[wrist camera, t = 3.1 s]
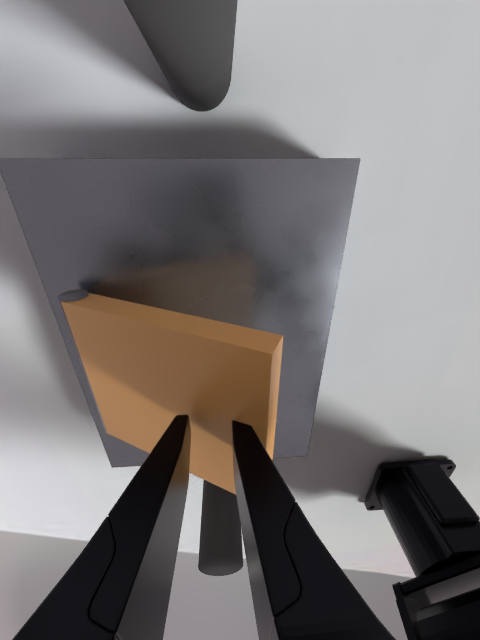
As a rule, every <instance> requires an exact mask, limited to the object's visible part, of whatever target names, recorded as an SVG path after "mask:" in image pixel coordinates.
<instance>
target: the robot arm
mask: <svg viewBox="0 0 480 640" xmlns="http://www.w3.org/2000/svg"><path fill="white" fill-rule="evenodd" d="M190 447H191V428H190V420H189V416H188V415H187V414H182V415H176V416H175V418H174V419H173V420H172V422H171V423H170V425H169V426H168V428H167V429H166V431H165V432H164V434H163V435H162V437H161V438H160V439H159V441H158V442H157V444H156V445H155V447H154V448H153V450H152V451H151V453H150V454H149V456H148V457H147V458H146V460H145V461H144V463H143V464H142V466H141V467H140V469H139V470H138V472H137V473H136V475H135V476H134V477H133V479H132V480H131V482H130V483H129V485H128V486H127V488H126V489H125V491H124V492H123V494H122V495H121V496H120V498H119V499H118V501H117V502H116V504H115V505H114V507H113V508H112V510H111V511H110V513H109V514H108V516H109V517H106V518H105V520H104V521H103V523H102V524H101V526H100V527H99V529H98V530H97V531H96V533H95V534H94V536H93V537H92V538H91V540H90V541H89V543H88V544H87V545H86V547H85V548H84V550H83V551H82V553H81V554H80V555H79V556H78V558H77V559H76V560H75V562H74V563H73V564H72V565H71V567H70V568H69V569H68V571H67V572H66V573H65V574H64V576H63V577H62V578H61V580H60V581H59V582H58V583H57V585H56V586H55V587H54V588H53V589H52V591H51V592H50V593H49V594H48V596H47V597H46V598H45V599H44V601H43V602H42V603H41V604H40V606H39V607H38V608H37V610H36V611H35V612H34V613H33V614H32V616H31V617H30V618H29V619H28V621H27V622H26V623H25V624H24V626H23V627H22V628H21V629H20V631H19V632H18V633H17V634H16V636H15V637H14V638H13V639H12V640H163V634H164V629H165V622H166V617H167V611H168V604H169V598H170V592H171V586H172V579H173V574H174V568H175V562H176V555H177V550H178V544H179V538H180V532H181V526H182V520H183V514H184V508H185V502H186V495H187V489H188V481H189V465H190ZM232 448H233V471H234V483H235V490H236V496H237V503H238V509H239V516H240V522H241V528H242V535H243V541H244V547H245V554H246V560H247V566H248V573H249V579H250V586H251V592H252V598H253V604H254V611H255V617H256V624H257V630H258V636H259V640H396V639H395V638H394V637H393V636H392V635H391V634H390V632H389V631H388V630H387V629H386V628H385V627H384V625H383V624H382V623H381V622H380V621H379V619H378V618H377V617H376V615H375V614H374V613H373V612H372V610H371V609H370V608H369V606H368V605H367V604H366V602H365V601H364V600H363V598H362V597H361V595H360V594H359V593H358V591H357V590H356V589H355V587H354V586H353V584H352V583H351V582H350V580H349V579H348V578H347V576H346V575H345V574H344V572H343V571H342V569H341V568H340V567H339V565H338V564H337V563H336V561H335V560H334V559H333V557H332V556H331V554H330V553H329V552H328V550H327V549H326V547H325V546H324V544H323V543H322V542H321V540H320V539H319V537H318V536H317V534H316V533H315V531H314V530H313V528H312V526H311V525H310V523H309V522H308V520H307V518H306V517H305V515H304V514H303V512H302V510H301V508H300V507H299V505H298V503H297V502H295V499H294V497H293V495H292V493H291V492H290V490H289V488H288V487H287V485H286V483H285V482H284V480H283V478H282V476H281V475H280V473H279V471H278V470H277V468H276V466H275V465H274V463H273V461H272V459H271V458H270V456H269V454H268V453H267V451H266V449H265V448H264V446H263V444H262V442H261V441H260V439H259V437H258V436H257V434H256V432H255V431H254V429H253V427H252V426H251V425H248V424H244V423H241V422H238V421H234V420H232ZM455 468H456V465H455V464H454V462H453V461H452V460H433V461H416V462H400V463H385V464H382V465H380V466H379V468H378V471H377V473H376V476H375V478H374V481H373V483H372V486H371V488H370V491H369V494H368V496H367V499H366V501H365V506H366V509H367V510H384V512H385V514H386V516H387V518H388V520H389V522H390V524H391V526H392V529H393V531H394V533H395V535H396V537H397V539H398V541H399V543H400V545H401V547H402V549H403V551H404V553H405V555H406V557H407V559H408V561H409V563H410V565H411V567H412V569H413V571H414V574H415V576H416V578H413V579H411V580H408V581H405V582H403V583H400V582H398V583H395V584H393V585H392V586H393V590H394V593H395V596H396V602H397V606H398V609H399V612H400V615H401V619H402V622H403V625H404V628H405V632H406V635H407V638H408V640H480V521H479V519H480V518H479V516H478V515H477V514H476V512H475V511H474V510H473V508H472V507H471V506H470V504H469V503H468V502H467V500H466V499H465V498H464V497H463V495H462V494H461V493H460V491H459V490H458V489H457V487H456V486H455V485H454V483H453V482H452V481H451V479H450V478H449V477H450V476H451V474H452V472H453V471H454V469H455Z"/></svg>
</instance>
